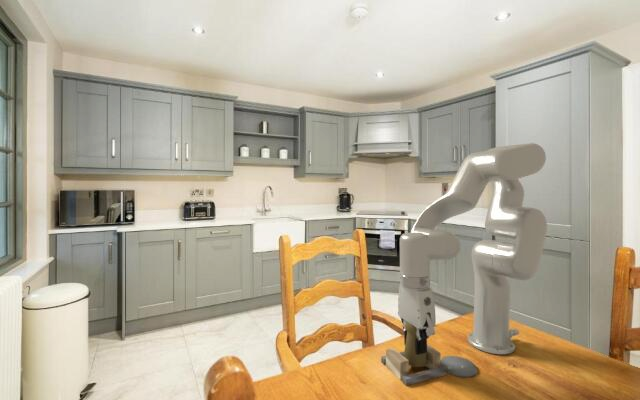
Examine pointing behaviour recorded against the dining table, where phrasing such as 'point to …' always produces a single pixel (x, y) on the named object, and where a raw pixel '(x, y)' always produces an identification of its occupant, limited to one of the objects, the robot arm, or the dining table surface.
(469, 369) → the coaster
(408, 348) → the pepper mill
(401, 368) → the grey and cream frame
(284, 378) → the dining table surface
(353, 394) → the dining table surface
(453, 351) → the dining table surface
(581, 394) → the dining table surface
